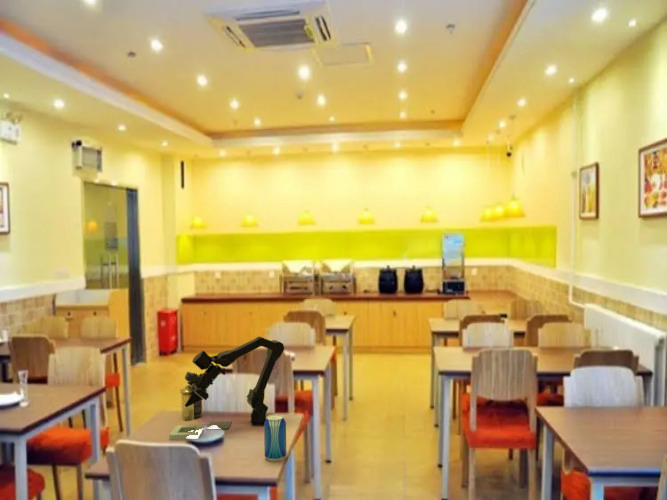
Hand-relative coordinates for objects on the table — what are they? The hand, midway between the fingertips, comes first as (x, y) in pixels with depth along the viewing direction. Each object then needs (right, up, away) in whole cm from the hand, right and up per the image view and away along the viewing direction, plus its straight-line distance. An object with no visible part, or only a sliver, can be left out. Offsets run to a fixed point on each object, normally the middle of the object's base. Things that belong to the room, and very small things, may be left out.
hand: (184, 404), depth 238 cm
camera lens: (-2, -13, +25) cm, 29 cm away
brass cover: (+1, -7, +1) cm, 7 cm away
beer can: (+43, -13, -27) cm, 52 cm away
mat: (+13, -13, +12) cm, 22 cm away
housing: (+1, -13, 0) cm, 13 cm away
